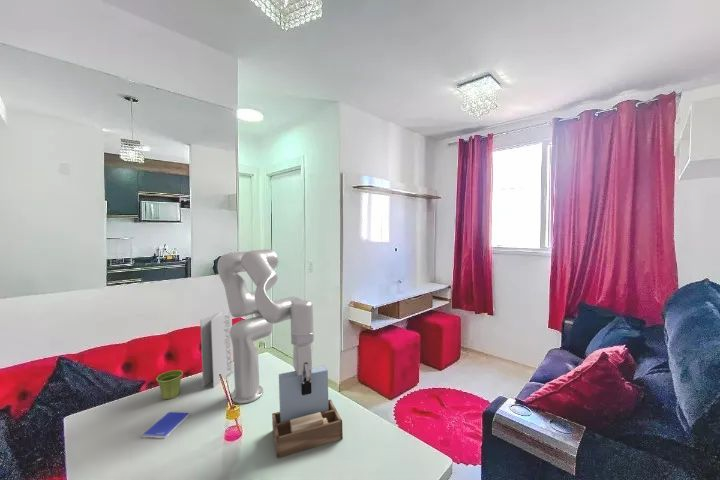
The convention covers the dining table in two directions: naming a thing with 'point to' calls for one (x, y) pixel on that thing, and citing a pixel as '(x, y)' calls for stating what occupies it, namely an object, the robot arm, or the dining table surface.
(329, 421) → the brown wooden open box
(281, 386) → the panel
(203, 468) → the dining table surface
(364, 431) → the dining table surface
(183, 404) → the dining table surface
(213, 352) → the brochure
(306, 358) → the robot arm
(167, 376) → the plant pot
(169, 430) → the hard drive
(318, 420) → the offcut stack
